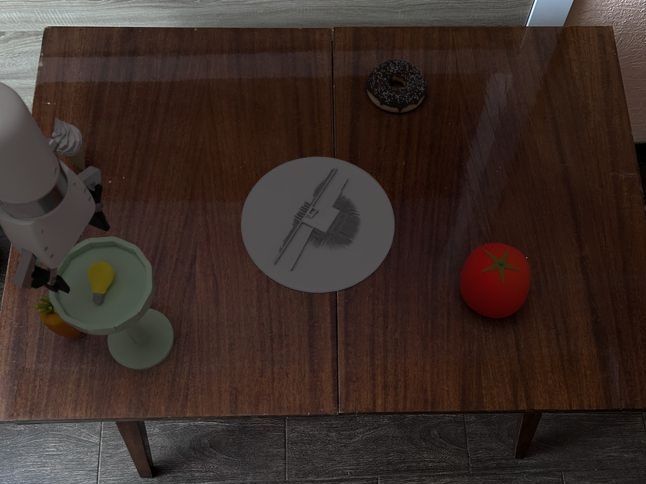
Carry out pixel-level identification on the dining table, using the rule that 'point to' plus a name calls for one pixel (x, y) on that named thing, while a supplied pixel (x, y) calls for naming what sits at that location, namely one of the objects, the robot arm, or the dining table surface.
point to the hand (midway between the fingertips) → (79, 256)
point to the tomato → (495, 280)
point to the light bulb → (100, 279)
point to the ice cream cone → (69, 142)
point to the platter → (121, 296)
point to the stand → (143, 342)
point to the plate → (317, 224)
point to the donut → (396, 97)
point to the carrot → (54, 319)
